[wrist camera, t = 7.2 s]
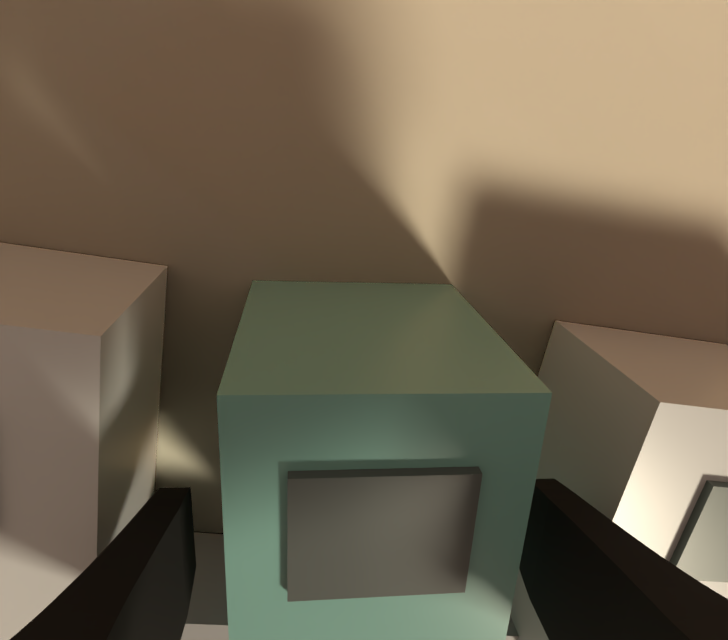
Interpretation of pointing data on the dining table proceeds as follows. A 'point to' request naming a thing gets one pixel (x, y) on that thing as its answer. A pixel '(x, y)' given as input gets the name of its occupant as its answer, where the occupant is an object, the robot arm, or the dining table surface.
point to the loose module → (374, 464)
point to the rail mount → (209, 599)
